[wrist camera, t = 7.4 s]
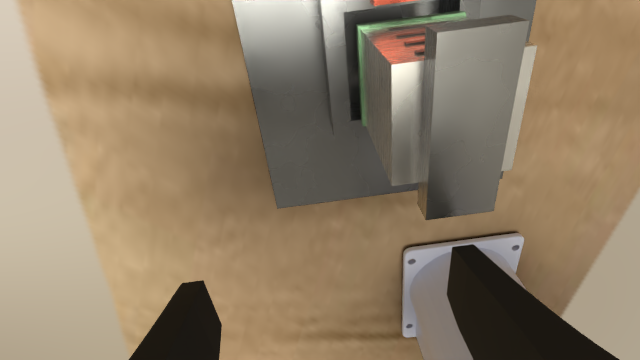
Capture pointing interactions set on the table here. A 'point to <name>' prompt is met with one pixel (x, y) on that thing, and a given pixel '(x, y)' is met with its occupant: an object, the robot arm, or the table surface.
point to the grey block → (445, 103)
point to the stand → (326, 89)
